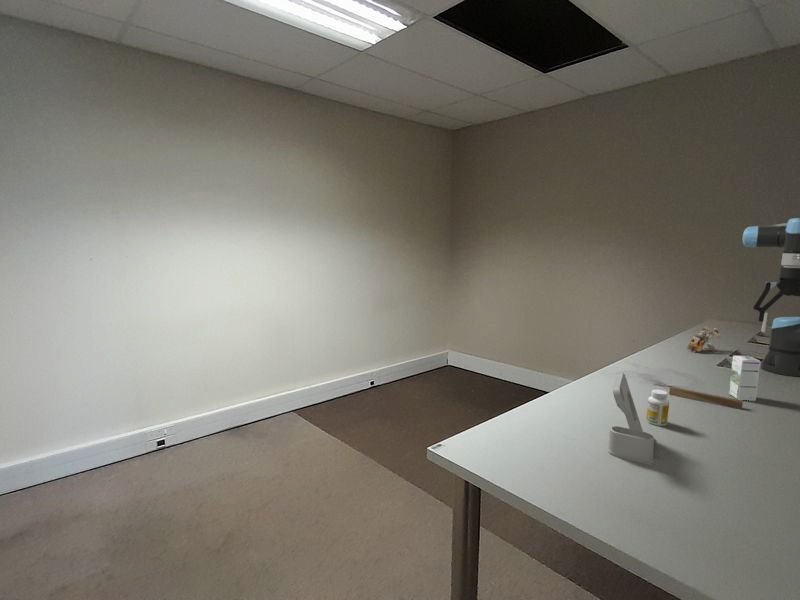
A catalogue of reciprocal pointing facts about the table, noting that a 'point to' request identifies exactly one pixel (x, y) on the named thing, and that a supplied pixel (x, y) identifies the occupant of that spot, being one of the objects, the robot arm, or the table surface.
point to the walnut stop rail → (706, 397)
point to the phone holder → (630, 440)
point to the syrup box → (744, 378)
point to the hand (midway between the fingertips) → (786, 334)
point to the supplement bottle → (658, 408)
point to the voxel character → (703, 340)
